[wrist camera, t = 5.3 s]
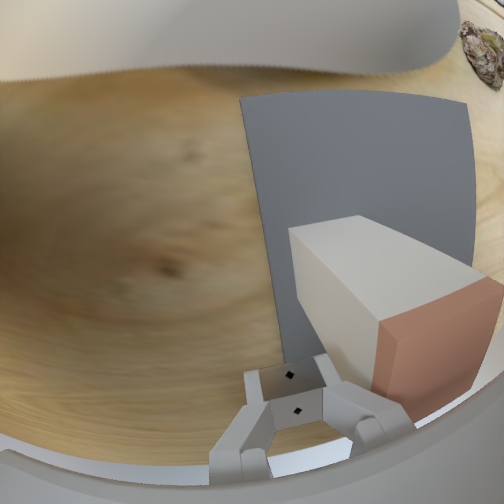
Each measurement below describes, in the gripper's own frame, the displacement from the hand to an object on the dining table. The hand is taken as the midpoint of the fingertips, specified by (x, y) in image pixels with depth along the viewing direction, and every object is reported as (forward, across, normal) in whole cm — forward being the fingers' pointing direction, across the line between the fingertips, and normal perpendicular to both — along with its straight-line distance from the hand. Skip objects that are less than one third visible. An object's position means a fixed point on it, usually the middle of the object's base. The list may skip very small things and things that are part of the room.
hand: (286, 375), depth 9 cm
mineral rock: (+10, -29, -19) cm, 36 cm away
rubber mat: (+10, -11, 0) cm, 15 cm away
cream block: (+9, -5, 0) cm, 10 cm away
